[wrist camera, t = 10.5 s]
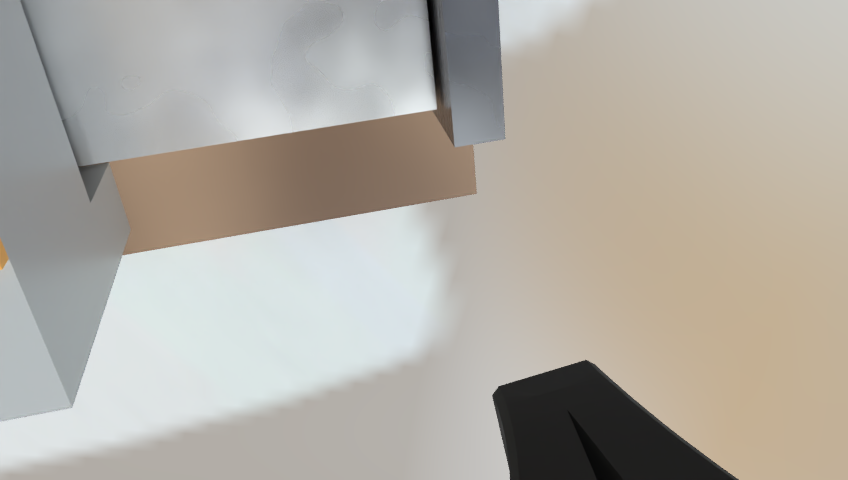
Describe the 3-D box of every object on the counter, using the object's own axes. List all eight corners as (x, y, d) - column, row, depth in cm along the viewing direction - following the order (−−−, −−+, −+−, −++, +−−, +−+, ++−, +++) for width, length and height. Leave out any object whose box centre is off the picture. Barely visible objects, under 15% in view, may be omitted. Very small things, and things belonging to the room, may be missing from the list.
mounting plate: (432, -255, 15) (443, -260, 14) (466, 176, 19) (476, 193, 18) (-647, -141, 12) (-715, -140, 12) (-328, 312, 17) (-360, 339, 16)
